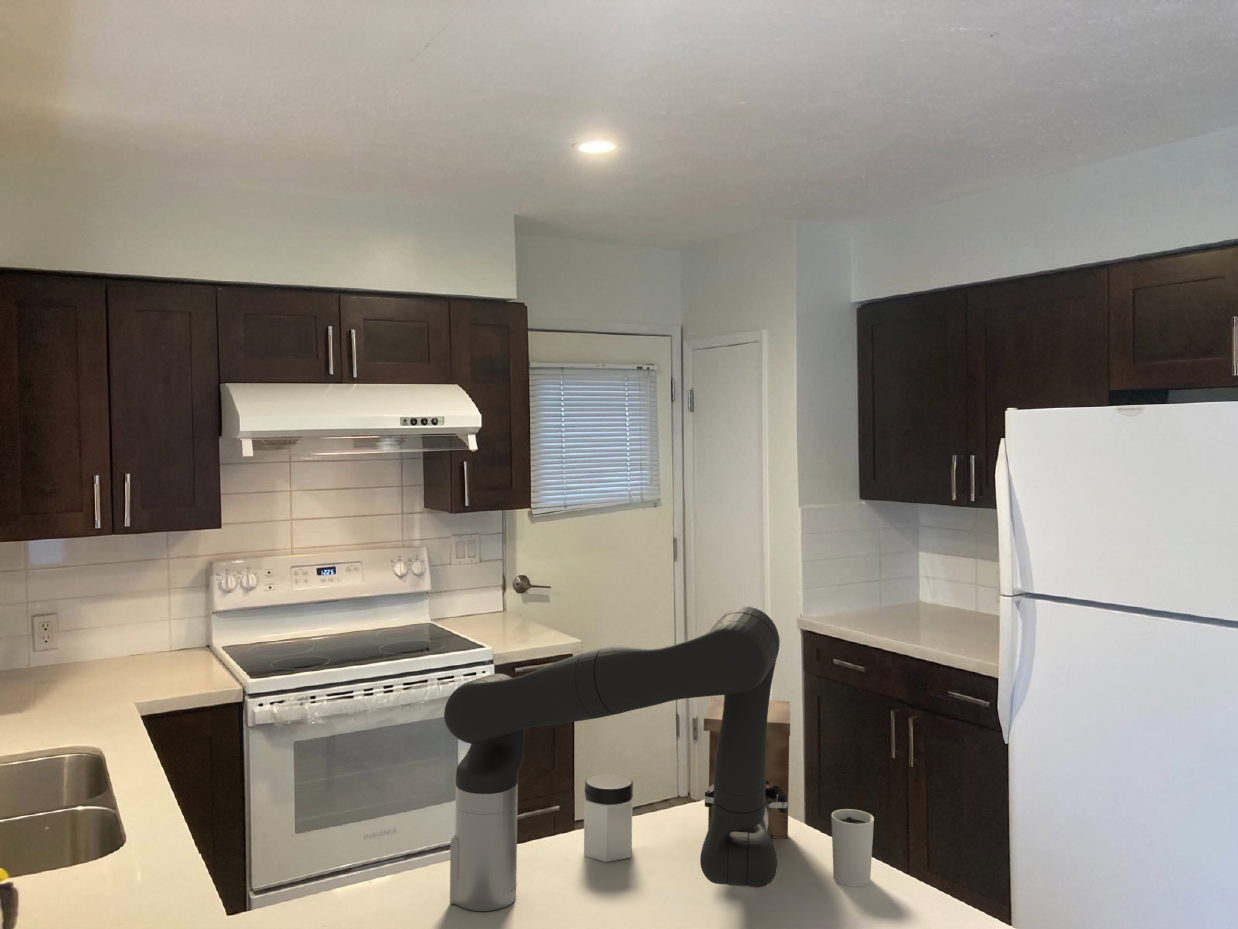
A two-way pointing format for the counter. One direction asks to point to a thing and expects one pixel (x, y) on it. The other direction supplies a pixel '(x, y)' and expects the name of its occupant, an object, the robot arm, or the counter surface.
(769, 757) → the shelf
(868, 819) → the white cup
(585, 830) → the jar
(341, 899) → the counter surface
